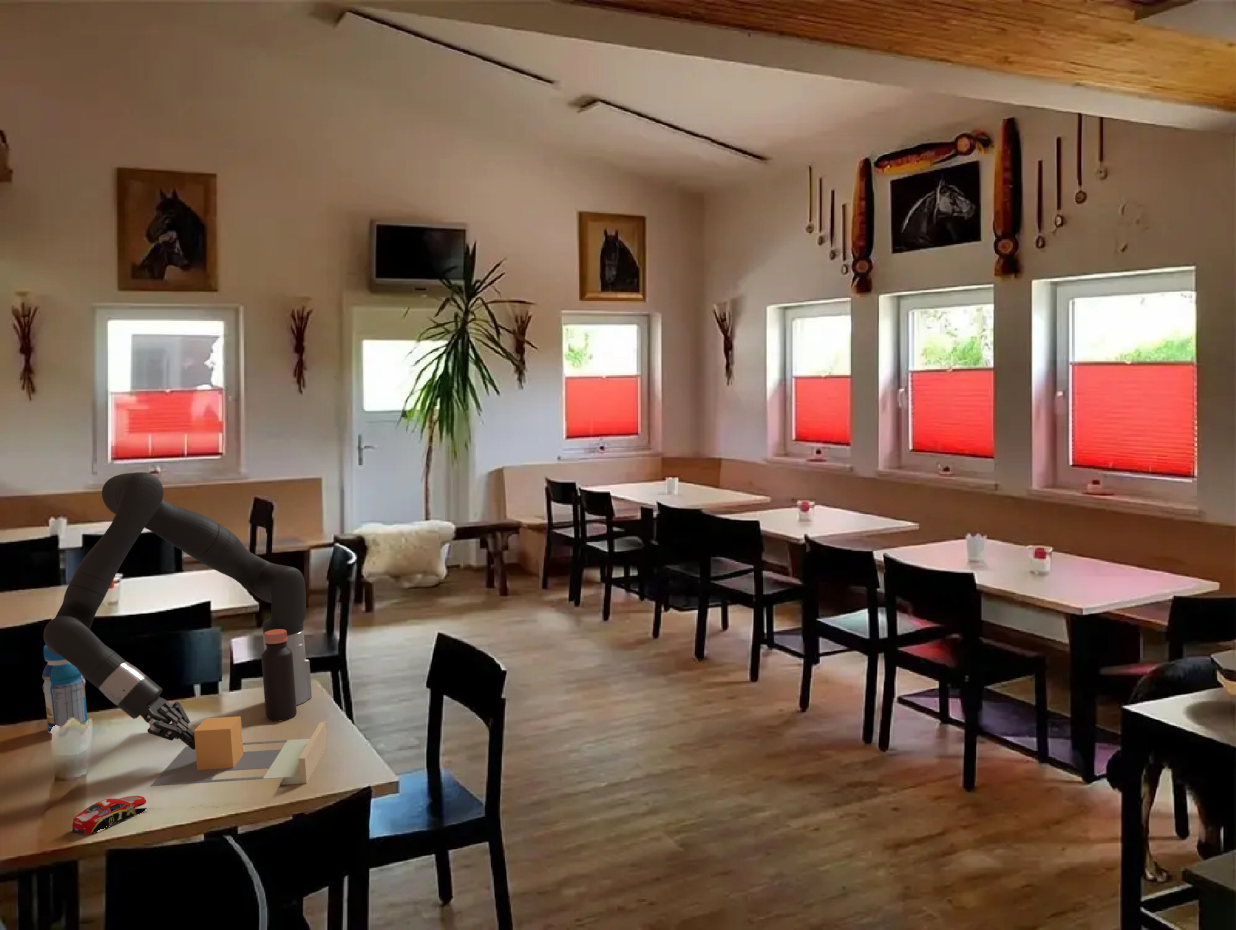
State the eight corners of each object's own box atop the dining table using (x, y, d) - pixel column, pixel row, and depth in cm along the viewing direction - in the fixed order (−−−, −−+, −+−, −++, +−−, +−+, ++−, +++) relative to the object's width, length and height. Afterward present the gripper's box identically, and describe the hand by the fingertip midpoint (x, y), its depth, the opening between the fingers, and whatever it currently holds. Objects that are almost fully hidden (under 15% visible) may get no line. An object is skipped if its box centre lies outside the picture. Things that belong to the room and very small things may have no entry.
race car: (136, 804, 192) (134, 783, 191) (154, 810, 189) (152, 789, 188) (67, 833, 180) (65, 811, 180) (85, 840, 177) (83, 818, 177)
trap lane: (151, 793, 195) (148, 768, 195) (186, 753, 215) (184, 730, 215) (306, 783, 198) (304, 758, 197) (327, 744, 217) (325, 721, 217)
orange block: (197, 770, 202) (194, 731, 201) (208, 756, 209) (205, 718, 208) (233, 767, 203) (230, 728, 202) (243, 754, 210) (240, 716, 209)
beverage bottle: (71, 737, 227) (62, 649, 225) (38, 735, 229) (29, 648, 227) (97, 723, 235) (89, 639, 233) (65, 722, 237) (57, 638, 235)
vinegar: (266, 713, 238) (260, 630, 236) (296, 709, 240) (291, 626, 238) (265, 723, 232) (259, 637, 230) (296, 719, 234) (290, 634, 232)
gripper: (130, 686, 196) (200, 744, 199) (155, 666, 209) (221, 720, 212) (103, 715, 197) (174, 772, 199) (131, 692, 210) (197, 746, 212)
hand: (198, 745), depth 205 cm, fingers closed
